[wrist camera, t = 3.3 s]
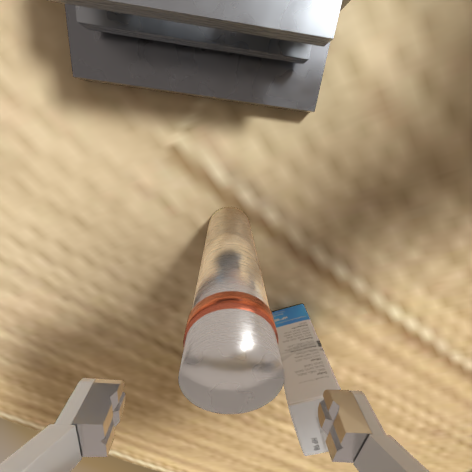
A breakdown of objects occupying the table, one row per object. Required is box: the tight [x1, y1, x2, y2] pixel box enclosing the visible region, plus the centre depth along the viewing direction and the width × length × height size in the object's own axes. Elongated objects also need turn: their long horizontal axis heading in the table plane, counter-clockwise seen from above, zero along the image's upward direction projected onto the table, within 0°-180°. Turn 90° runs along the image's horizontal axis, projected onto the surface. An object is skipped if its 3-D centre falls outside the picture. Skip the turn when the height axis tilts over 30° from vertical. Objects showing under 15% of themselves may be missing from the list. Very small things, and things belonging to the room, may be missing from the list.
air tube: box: [178, 207, 284, 414], centre depth 19 cm, size 5×5×18 cm
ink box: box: [272, 304, 341, 456], centre depth 27 cm, size 8×5×15 cm, turn 16°
